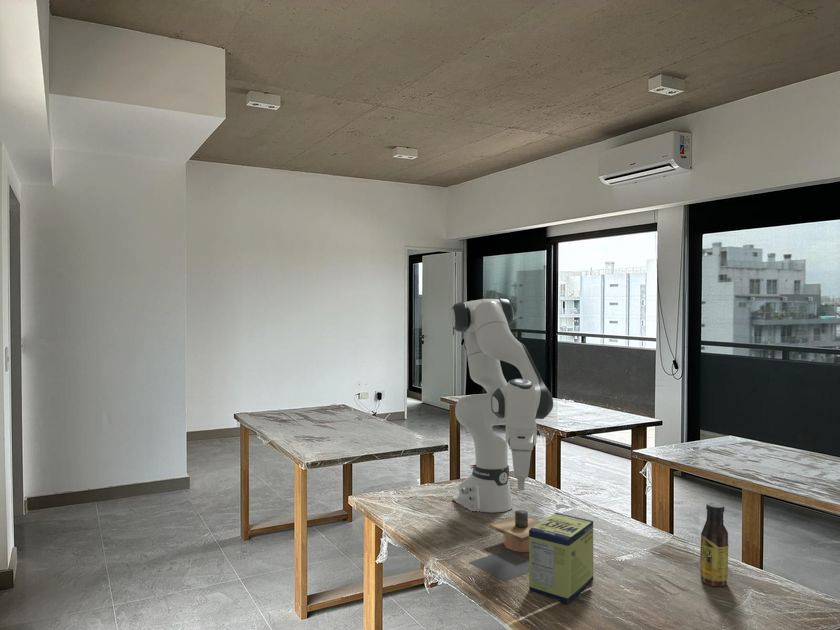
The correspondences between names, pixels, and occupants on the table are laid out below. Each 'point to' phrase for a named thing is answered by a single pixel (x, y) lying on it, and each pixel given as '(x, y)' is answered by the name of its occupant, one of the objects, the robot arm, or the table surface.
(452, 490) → the table surface
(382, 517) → the table surface
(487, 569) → the mat
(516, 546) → the bowl
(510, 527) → the lid
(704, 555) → the sauce bottle
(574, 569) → the protein box
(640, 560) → the table surface
